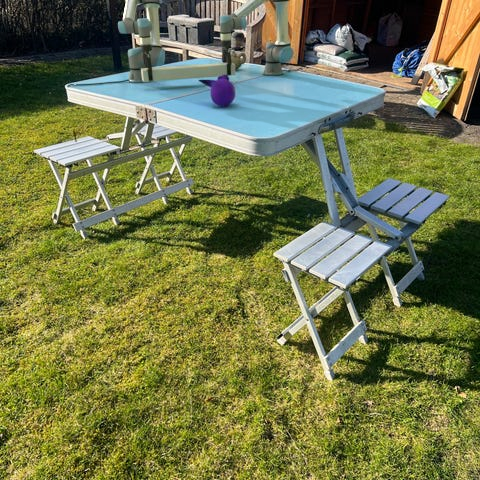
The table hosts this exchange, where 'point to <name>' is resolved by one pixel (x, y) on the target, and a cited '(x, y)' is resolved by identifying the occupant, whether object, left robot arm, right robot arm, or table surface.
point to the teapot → (238, 59)
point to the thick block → (187, 72)
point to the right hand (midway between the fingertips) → (227, 73)
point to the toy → (221, 90)
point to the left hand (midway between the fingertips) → (149, 79)
